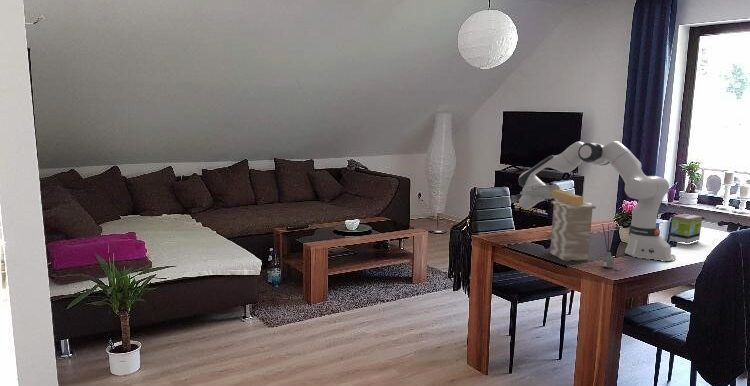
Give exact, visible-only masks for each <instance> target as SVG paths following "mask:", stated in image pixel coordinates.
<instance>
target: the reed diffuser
mask: <svg viewBox="0 0 750 386" xmlns="http://www.w3.org/2000/svg"><path fill="white" fill-rule="evenodd" d="M601 226H602V229H603V230H602V231H603V236H604V241H605V245H606V247H605V248H606V255H603V257H602V261H601V262H602V263H601V265H602V267H605V268H610V269H611V268H615V269H616V270H615V269H614V270H615V271H617V270H618V271H620V270H621V267H620V266H619V265H615V264H614V263H615V259H614V257H613V256H612V249H613V246H614V244H615V241H616V239H617V237H618V233H619V231H620V229H621V227H619V228H618V227H617V226H618V225H617V226H616V227H615V231H614V235H613V238H612V241H611V243H610V224H608V226H607V227H608V228H607V229H608V232H607V233H608V238H607V239H606V233H605V228H604V224H603V223H602V224H601ZM617 229H618V231H617ZM607 240H608V241H607ZM609 243H610V244H611V245H610V244H609ZM609 246H610V249H609ZM614 265H615V266H614Z"/></svg>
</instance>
